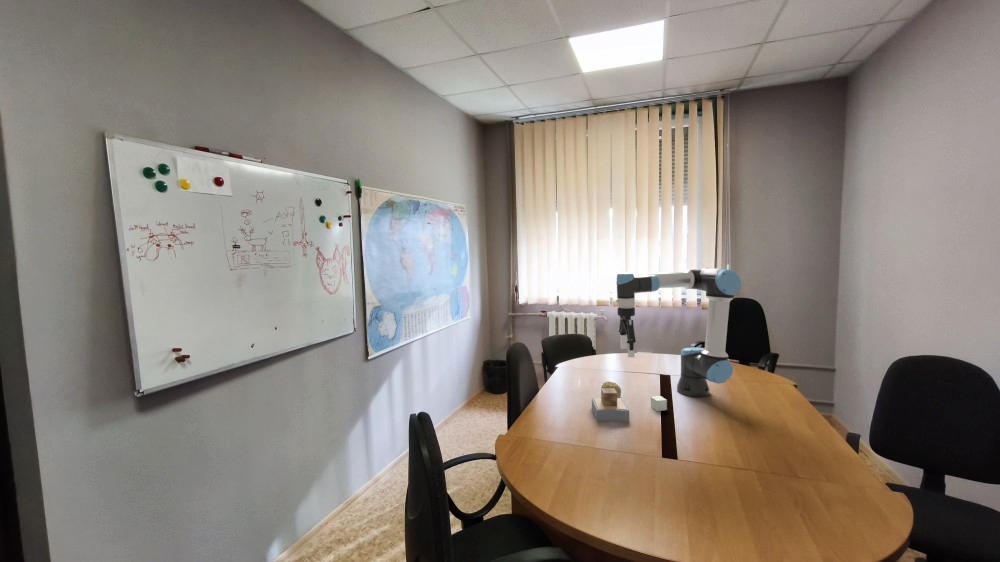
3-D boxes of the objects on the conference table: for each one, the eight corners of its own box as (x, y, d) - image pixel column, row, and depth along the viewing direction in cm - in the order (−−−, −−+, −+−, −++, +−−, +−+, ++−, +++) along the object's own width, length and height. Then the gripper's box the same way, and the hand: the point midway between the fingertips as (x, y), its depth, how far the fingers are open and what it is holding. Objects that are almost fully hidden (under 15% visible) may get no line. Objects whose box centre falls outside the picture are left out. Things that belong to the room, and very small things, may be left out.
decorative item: (620, 403, 199) (617, 383, 204) (624, 398, 191) (621, 378, 196) (601, 403, 200) (599, 384, 205) (604, 398, 191) (601, 378, 197)
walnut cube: (614, 400, 180) (614, 388, 179) (617, 406, 174) (617, 393, 173) (601, 400, 180) (601, 388, 180) (603, 406, 174) (603, 393, 174)
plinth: (621, 408, 184) (621, 397, 183) (629, 421, 170) (629, 409, 169) (591, 408, 185) (591, 397, 184) (596, 421, 171) (596, 409, 171)
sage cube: (660, 405, 185) (660, 395, 185) (666, 410, 180) (666, 399, 180) (650, 407, 184) (650, 396, 184) (656, 411, 180) (656, 400, 179)
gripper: (611, 303, 188) (613, 345, 190) (624, 312, 163) (625, 361, 165) (627, 302, 187) (628, 345, 189) (642, 311, 162) (643, 360, 164)
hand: (627, 352), depth 177 cm, fingers open, 13 cm apart
